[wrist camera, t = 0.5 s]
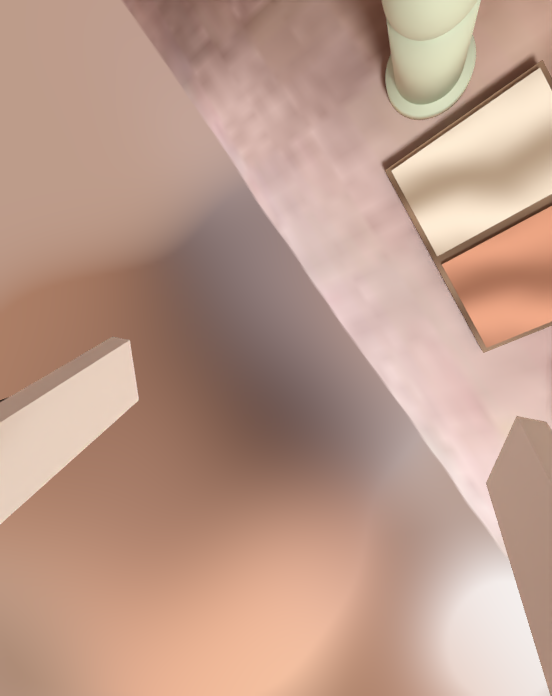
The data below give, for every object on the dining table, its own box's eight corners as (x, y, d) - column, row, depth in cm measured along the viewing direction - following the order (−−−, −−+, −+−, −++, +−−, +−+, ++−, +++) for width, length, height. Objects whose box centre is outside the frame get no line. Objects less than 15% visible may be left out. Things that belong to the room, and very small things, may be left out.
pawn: (401, 22, 28) (386, -165, 15) (487, 27, 26) (553, -181, 13) (376, 114, 30) (346, 17, 17) (455, 124, 28) (484, 25, 16)
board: (385, 172, 31) (384, 169, 30) (538, 66, 26) (543, 57, 25) (481, 349, 32) (483, 353, 31) (648, 282, 27) (658, 283, 25)
